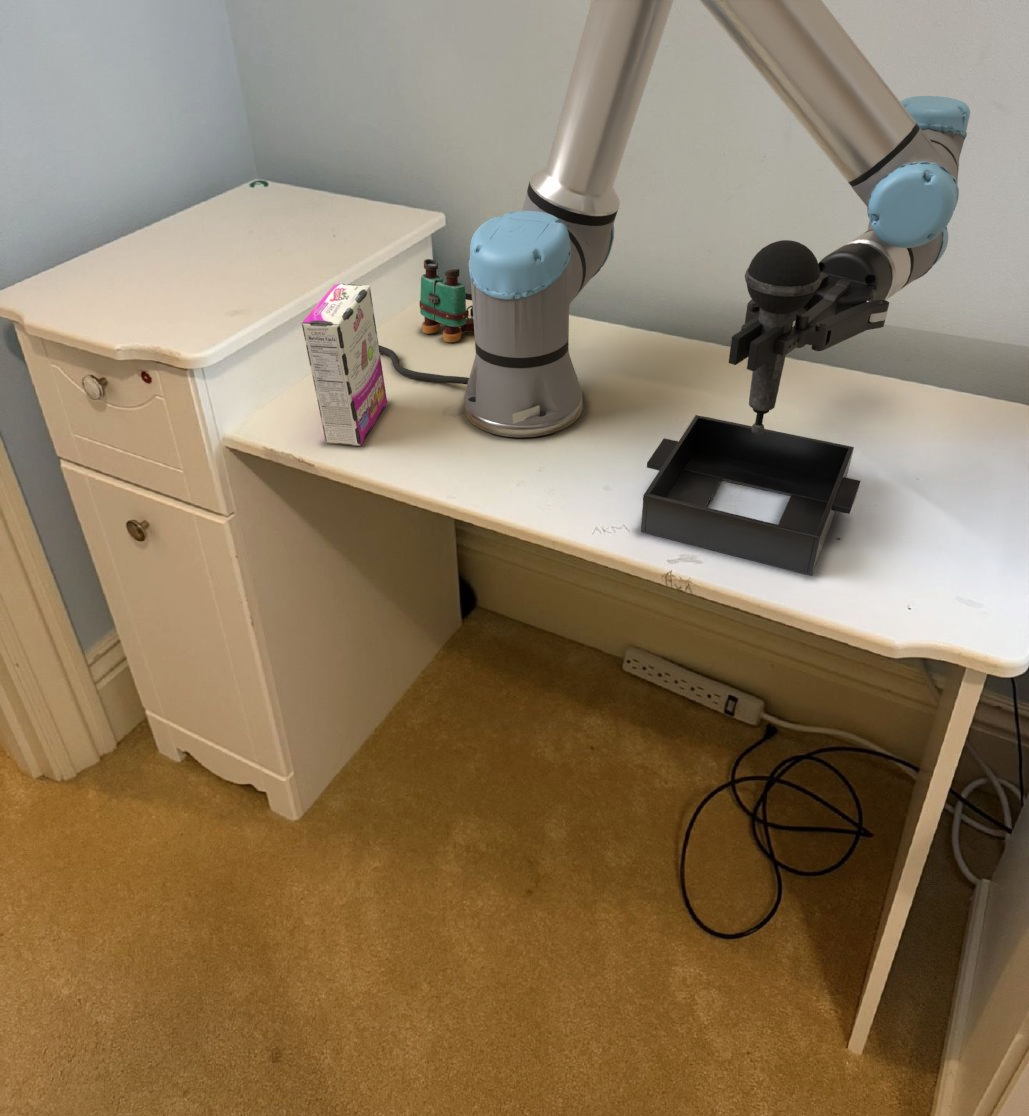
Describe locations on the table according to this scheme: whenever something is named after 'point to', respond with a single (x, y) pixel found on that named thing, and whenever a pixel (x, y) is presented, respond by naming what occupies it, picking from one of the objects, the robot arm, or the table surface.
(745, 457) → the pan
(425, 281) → the binoculars
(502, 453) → the table surface
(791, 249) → the microphone
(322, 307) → the candy bar box
